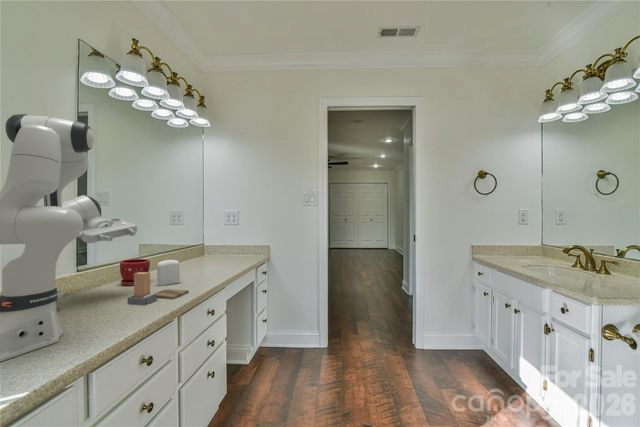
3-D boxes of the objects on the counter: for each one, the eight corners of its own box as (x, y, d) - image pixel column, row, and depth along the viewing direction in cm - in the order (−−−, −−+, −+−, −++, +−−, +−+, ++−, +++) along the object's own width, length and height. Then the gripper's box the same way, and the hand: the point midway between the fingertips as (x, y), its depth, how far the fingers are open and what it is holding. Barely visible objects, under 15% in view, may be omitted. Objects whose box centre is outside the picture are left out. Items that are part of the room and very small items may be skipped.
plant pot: (127, 288, 144) (127, 263, 143) (115, 284, 151) (114, 261, 151) (154, 282, 154) (154, 259, 154) (142, 279, 162) (141, 257, 162)
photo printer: (157, 286, 146) (157, 261, 146) (156, 284, 150) (156, 260, 149) (180, 283, 152) (180, 259, 152) (178, 281, 156) (178, 258, 156)
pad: (173, 299, 125) (173, 296, 125) (149, 297, 128) (149, 295, 128) (188, 292, 135) (188, 290, 135) (165, 291, 138) (165, 289, 138)
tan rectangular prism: (144, 303, 120) (144, 274, 119) (134, 302, 121) (133, 273, 120) (150, 301, 123) (150, 272, 122) (140, 300, 124) (139, 272, 123)
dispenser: (145, 305, 117) (145, 296, 117) (126, 303, 119) (126, 295, 119) (157, 300, 124) (157, 291, 124) (139, 299, 126) (139, 290, 126)
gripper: (73, 227, 118) (94, 235, 113) (124, 218, 136) (145, 224, 131) (74, 242, 119) (95, 250, 114) (125, 231, 138) (145, 237, 133)
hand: (122, 236), depth 123 cm, fingers open, 8 cm apart
